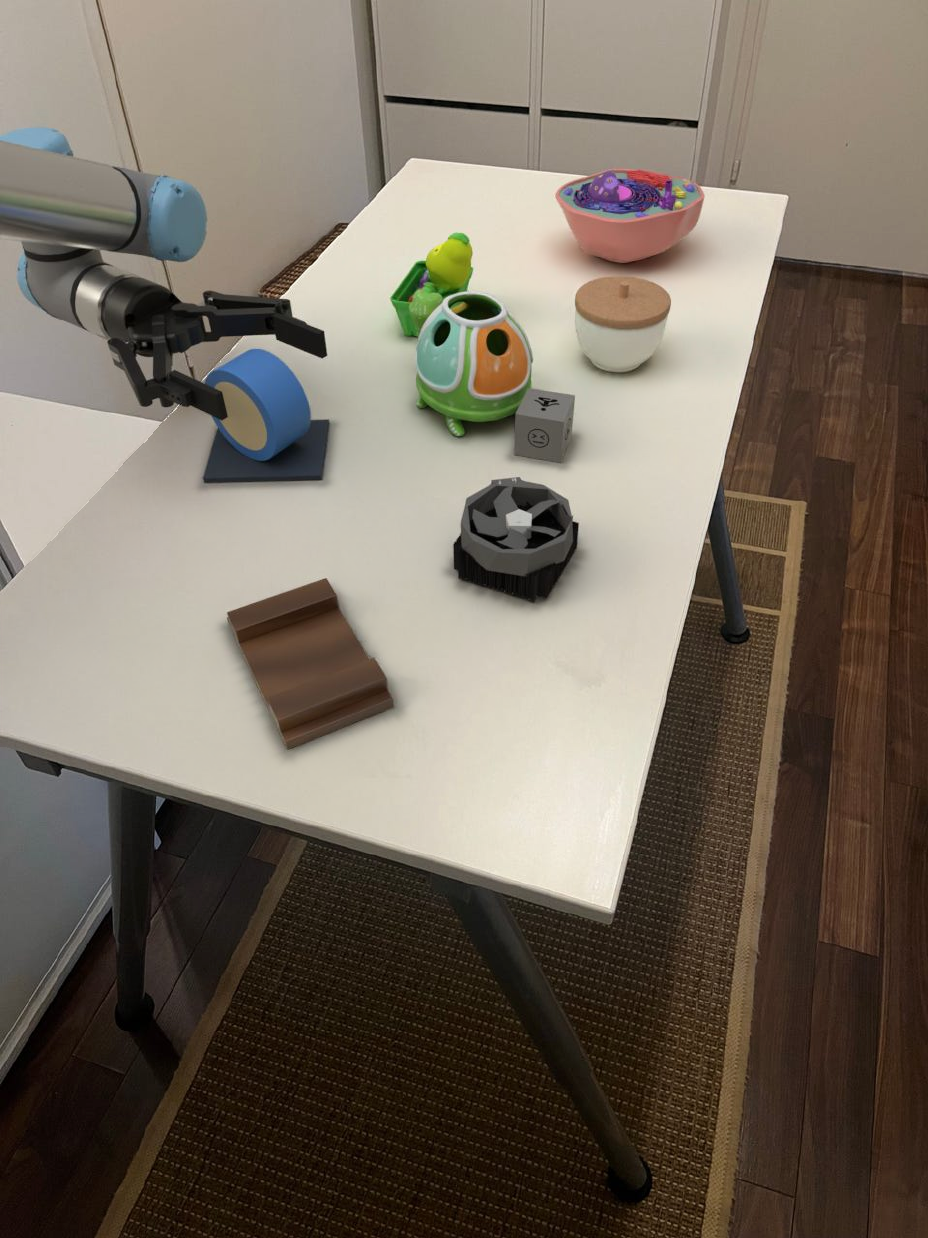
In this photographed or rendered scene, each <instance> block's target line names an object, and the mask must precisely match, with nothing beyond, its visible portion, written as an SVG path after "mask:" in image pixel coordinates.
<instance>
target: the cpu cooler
mask: <svg viewBox="0 0 928 1238" xmlns="http://www.w3.org/2000/svg"><path fill="white" fill-rule="evenodd" d="M490 481H491V483H490V484H489V485H486V487H484V488H482V489H480V490H478V491H477V492H475V493H473V494H471V495H469V496H467V497H466V499H465V503H464V507H463V511H462V515H461V520H460V534H459V536H457V538H456V539H455V541H454V542H453V544H452V550H453V551H452V552H453V569H454V570H455V571H458V572H457V575H458V579H459V580H462V581H467V582H468V583H472V584H475V585H478V586H481V587H484V588H488V589H490V590H494V591H497V592H501V593H504V594H506V595H509V596H512V597H517V598H518V599H521V600H522V599H523V600H526V601H528V602H532V603H535V602H536V599H537V598H538V597H541V598H544V599H546V600H547V599H548V598H549V596H550V595H551V593H552V591H553V590H554V588H555V586H556V584H557V583H558V582H559V581H558V580H559V579H560V577H561V576H562V574H563V572H564V570H565V569H566V567H567V566H568V563H569V562H570V561H571V558H572V557H573V555H574V554H575V552H576V550H577V548H578V538H579V530H580V529H579V527H580V523H579V522H577V521H574V515H573V514H572V510H571V505H570V502H569V499H567V498H566V497H564V496H563V495H562V494H559V493H558V492H556V491H554V490H553V489H552V488H550V487H548V486H547V485H545V484H542V483H537V482H531V481H526V480H524V479H522V478H521V476H515V477H507V478H498V479H491V480H490Z"/></svg>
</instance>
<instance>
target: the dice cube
mask: <svg viewBox="0 0 928 1238" xmlns="http://www.w3.org/2000/svg"><path fill="white" fill-rule="evenodd" d="M575 402H576V394H571V393H570V394H569V393H563V392H557V391H550V390H543V389H537V388H533V387H532V388H528V389H527V391H526V393H525V395H524V398H523V400H522V402H521V404H520V406H519V408H518V410H517V412H516V413H514V414H515V416H514V418H515V419H514V449H513V454H514V455H513V456H519V457H525V458H529V459H535V460H541V461H548V462H554V463H558V464H562V462H563V459H564V457H565V454H566V451H567V449H568V447H569V444H570V441H571V439H572V437H573V426H574V425H573V424H574V414H575Z"/></svg>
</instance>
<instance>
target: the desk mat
mask: <svg viewBox="0 0 928 1238" xmlns="http://www.w3.org/2000/svg"><path fill="white" fill-rule="evenodd" d="M329 431H330V419H311V423H310V427H309V429H308V431H307V433H306V434H305V435H304V436H303V437H301V438H300V439H298V440H297V441H295V442H294V443H292V444H291V445H289V446H288V447H286V448H285V449H283V450H282V451H281V452H279V453H278V454H276V455H275V456H273V457H272V458H270V459H268V460H265V461H257V460H254V459H251V458H249V457H247V456H245V455H244V454H242V453H241V452H239V451H238V450H237V449H236V448H235V447H234V446H233V445H232V444H231V443H230V442H229V441H228V440H227V439H226V438H225V437H224V435H223V434H222V433H221V431H220V430H219V428H218V427H217V428H216V431H215V434H214V439H213V441H212V445H211V448H210V452H209V456H208V460H207V463H206V466H205V470H204V474H203V477H202V480H203V483H204V484H205V483H208V484H209V483H240V482H241V483H242V482H243V483H244V482H278V481H279V482H281V481H287V482H288V481H320V480H322V479H323V473H324V466H325V458H326V452H327V443H328V438H329V437H328V436H329Z"/></svg>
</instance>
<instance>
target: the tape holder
mask: <svg viewBox="0 0 928 1238" xmlns="http://www.w3.org/2000/svg"><path fill="white" fill-rule="evenodd" d="M226 616H227V617H226V621H227V623H228V627H229V628H230V630H231V633H232V635H233V637H234V639H235V641H236V644H237V646H238V647H239V650H240V652H241V654H242V656H243V658H244V660H245V662H246V665H247V668H248V669H249V672H250V673H251V675H252V678H253V680H254V682H255V684H256V686H257V688H258V690H259V692H260V695H261V697H262V699H263V701H264V703H265V705H266V708H267V709H268V712H269V714H270V716H271V719H272V720H273V724H274V725H275V727H276V729H277V731H278V734H279V736H280V738H281V740H282V742H283V744H284V746H285V748H286V749H287V750H290V749H293V748H295V747H297V746H299V745H302V744H304V743H306V742H309V741H312V740H314V739H317V738H319V737H321V736H324V735H327V734H329V733H331V732H334V731H337V730H339V729H342V728H344V727H347V726H349V725H351V724H352V725H353V724H354V723H357V722H359V721H361V720H364V719H367V718H369V717H372V716H374V715H376V714H380V713H381V712H384V711H387V710H389V709H392V708H394V707H395V703H394V698H393V696H392V694H391V693H390V691H389V687H388V686H389V685H388V679H387V676H386V674H385V672H384V671H383V670H382V667H381V666H380V664H379V663H378V661H377V659H376V658H375V657H372V658H371V657H369V656H368V654H367V653H366V651H365V649H364V647H363V645H362V643H361V642H360V641H359V639H358V637H357V635H356V634H355V633H354V631H353V629H352V627H351V625H350V624H349V622H348V621H347V618H346V617H345V615H344V614H343V612H342V610H341V609H340V606H339V599H338V594H337V593H336V591H335V590H334V588H333V586H332V585H331V582H330V581H329V579H328V578H327V577H325V578H322V579H318V580H316V581H313V582H311V583H310V582H309V583H307V584H304V585H302V586H299V587H296V588H293V589H290V590H287V591H284V592H280V593H278V594H275V595H273V596H270V597H267V598H264V599H262V600H258V601H255V602H252V603H250V604H247V605H245V606H240V607H238V608H236V609H232V610H230V611H227V612H226Z"/></svg>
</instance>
